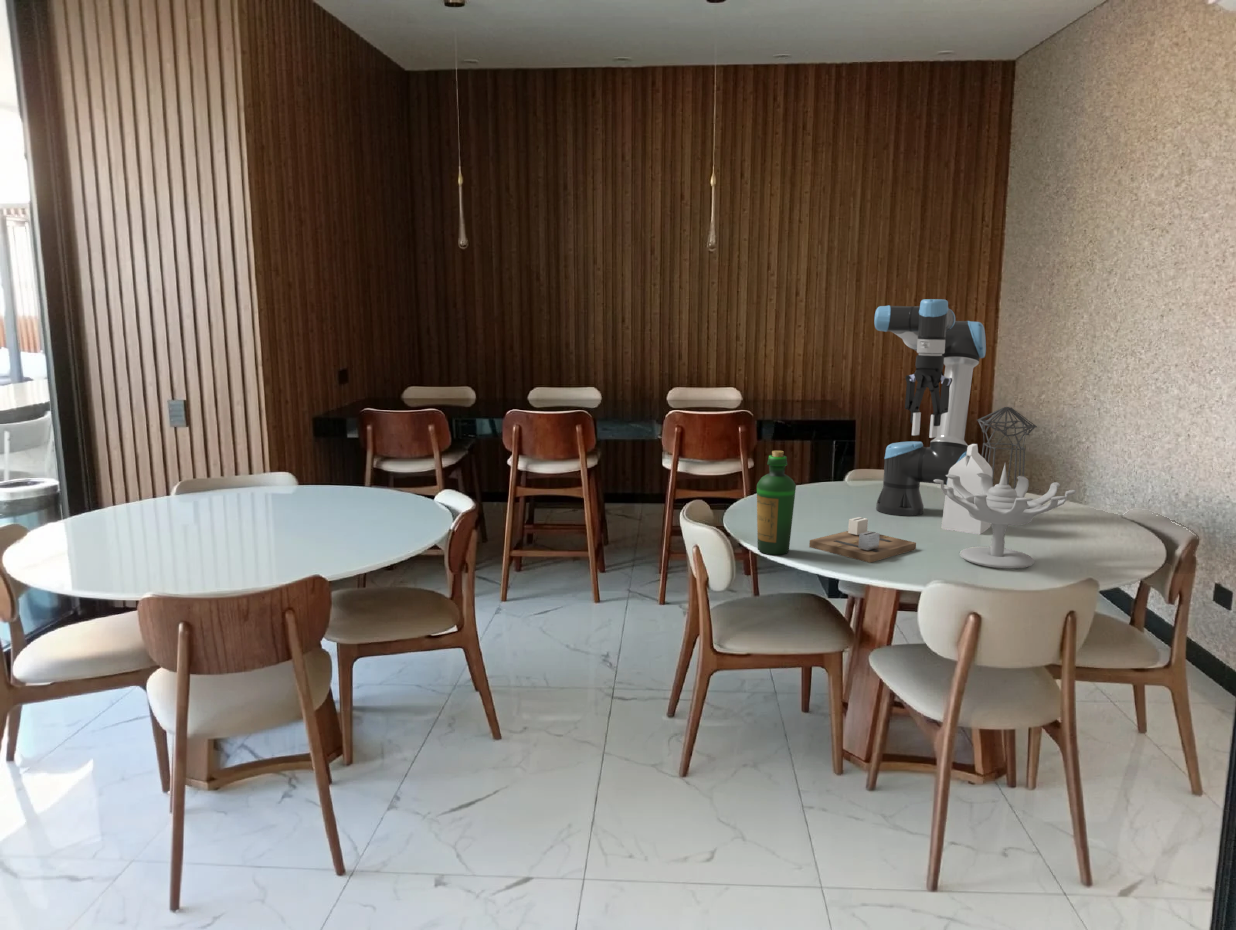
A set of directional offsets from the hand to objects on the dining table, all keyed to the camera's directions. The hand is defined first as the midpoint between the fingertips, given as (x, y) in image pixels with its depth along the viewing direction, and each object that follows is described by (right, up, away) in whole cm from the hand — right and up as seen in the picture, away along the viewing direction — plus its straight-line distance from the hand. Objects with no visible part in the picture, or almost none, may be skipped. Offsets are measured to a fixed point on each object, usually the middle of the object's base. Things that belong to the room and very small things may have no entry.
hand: (924, 435), depth 262 cm
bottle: (-45, -32, -10) cm, 56 cm away
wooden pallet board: (-19, -32, -5) cm, 37 cm away
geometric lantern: (+41, -24, +48) cm, 68 cm away
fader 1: (-18, -28, +3) cm, 34 cm away
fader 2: (-20, -31, -14) cm, 39 cm away
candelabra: (+14, -35, -16) cm, 41 cm away
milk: (+20, -28, +21) cm, 41 cm away
